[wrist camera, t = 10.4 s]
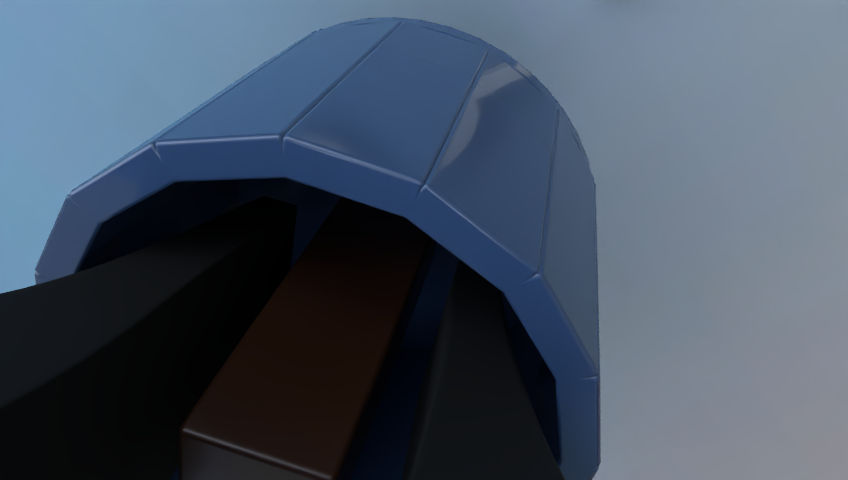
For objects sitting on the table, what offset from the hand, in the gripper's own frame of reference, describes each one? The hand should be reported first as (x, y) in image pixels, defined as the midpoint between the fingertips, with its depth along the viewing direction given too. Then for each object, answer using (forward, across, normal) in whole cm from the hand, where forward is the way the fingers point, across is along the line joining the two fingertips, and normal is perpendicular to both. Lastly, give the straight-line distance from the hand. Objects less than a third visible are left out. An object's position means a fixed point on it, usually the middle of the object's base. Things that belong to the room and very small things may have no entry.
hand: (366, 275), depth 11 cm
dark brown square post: (+2, 0, 0) cm, 2 cm away
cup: (+2, 0, 0) cm, 2 cm away
